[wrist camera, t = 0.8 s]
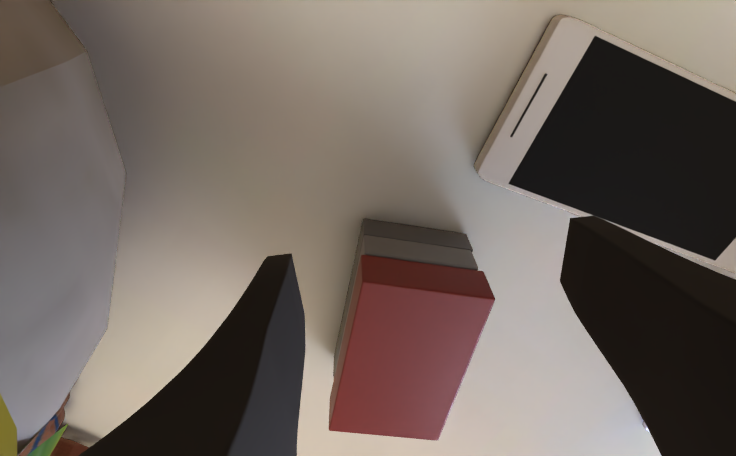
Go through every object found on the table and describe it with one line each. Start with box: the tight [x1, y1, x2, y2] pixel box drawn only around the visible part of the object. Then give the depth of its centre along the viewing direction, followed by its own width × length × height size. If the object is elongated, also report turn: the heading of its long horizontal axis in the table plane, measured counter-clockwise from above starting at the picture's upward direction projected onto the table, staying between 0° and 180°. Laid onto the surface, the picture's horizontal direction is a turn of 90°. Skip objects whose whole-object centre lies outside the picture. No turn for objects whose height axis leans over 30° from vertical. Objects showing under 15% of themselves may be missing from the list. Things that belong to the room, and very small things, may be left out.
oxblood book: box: [329, 255, 495, 440], centre depth 22 cm, size 9×6×2 cm, turn 169°
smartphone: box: [474, 15, 736, 273], centre depth 21 cm, size 7×16×1 cm, turn 68°
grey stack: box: [333, 219, 478, 377], centre depth 24 cm, size 9×5×3 cm, turn 169°
